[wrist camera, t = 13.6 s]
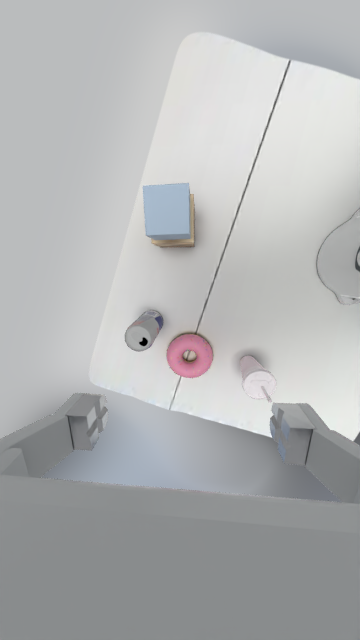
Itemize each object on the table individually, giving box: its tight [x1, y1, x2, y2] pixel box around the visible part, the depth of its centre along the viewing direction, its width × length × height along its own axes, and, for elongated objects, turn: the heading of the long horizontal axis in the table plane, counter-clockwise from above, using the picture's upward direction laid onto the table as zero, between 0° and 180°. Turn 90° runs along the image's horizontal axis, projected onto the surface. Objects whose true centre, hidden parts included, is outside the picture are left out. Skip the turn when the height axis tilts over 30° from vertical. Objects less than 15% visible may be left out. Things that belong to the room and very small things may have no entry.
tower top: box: [151, 194, 194, 246], centre depth 35 cm, size 7×7×5 cm
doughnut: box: [166, 334, 213, 378], centre depth 48 cm, size 11×11×4 cm
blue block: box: [143, 183, 191, 240], centre depth 30 cm, size 6×6×6 cm
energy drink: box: [125, 310, 163, 351], centre depth 42 cm, size 5×5×12 cm
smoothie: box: [240, 356, 276, 402], centre depth 42 cm, size 6×6×14 cm
